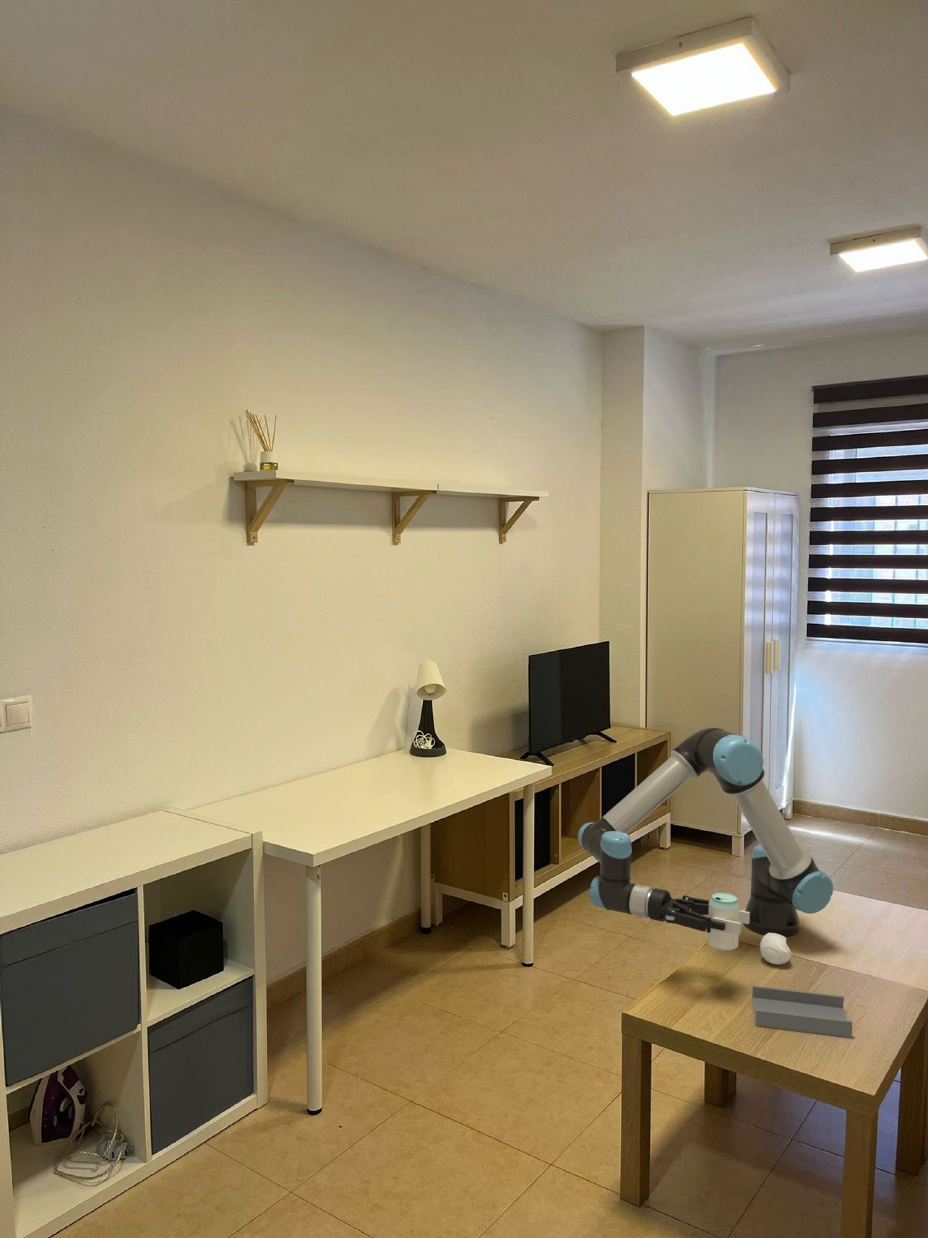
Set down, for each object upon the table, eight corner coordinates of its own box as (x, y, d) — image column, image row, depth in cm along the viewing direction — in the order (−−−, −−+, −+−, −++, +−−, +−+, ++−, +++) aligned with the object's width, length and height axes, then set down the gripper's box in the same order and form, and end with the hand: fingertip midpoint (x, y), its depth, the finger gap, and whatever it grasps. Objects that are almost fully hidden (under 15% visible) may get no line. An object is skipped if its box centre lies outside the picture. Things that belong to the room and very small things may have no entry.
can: (728, 955, 222) (730, 905, 221) (701, 946, 227) (703, 896, 226) (743, 946, 227) (745, 897, 226) (716, 937, 232) (718, 889, 231)
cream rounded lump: (793, 971, 240) (795, 941, 239) (762, 969, 240) (763, 939, 240) (786, 957, 247) (788, 928, 247) (756, 955, 248) (758, 926, 248)
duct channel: (752, 999, 224) (752, 985, 224) (842, 1010, 219) (843, 996, 219) (755, 1026, 212) (756, 1010, 211) (851, 1038, 207) (852, 1022, 207)
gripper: (664, 905, 244) (755, 925, 233) (636, 931, 227) (732, 954, 216) (665, 876, 244) (756, 895, 232) (637, 901, 227) (733, 922, 215)
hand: (744, 923), depth 224 cm, fingers closed on can, 7 cm apart
